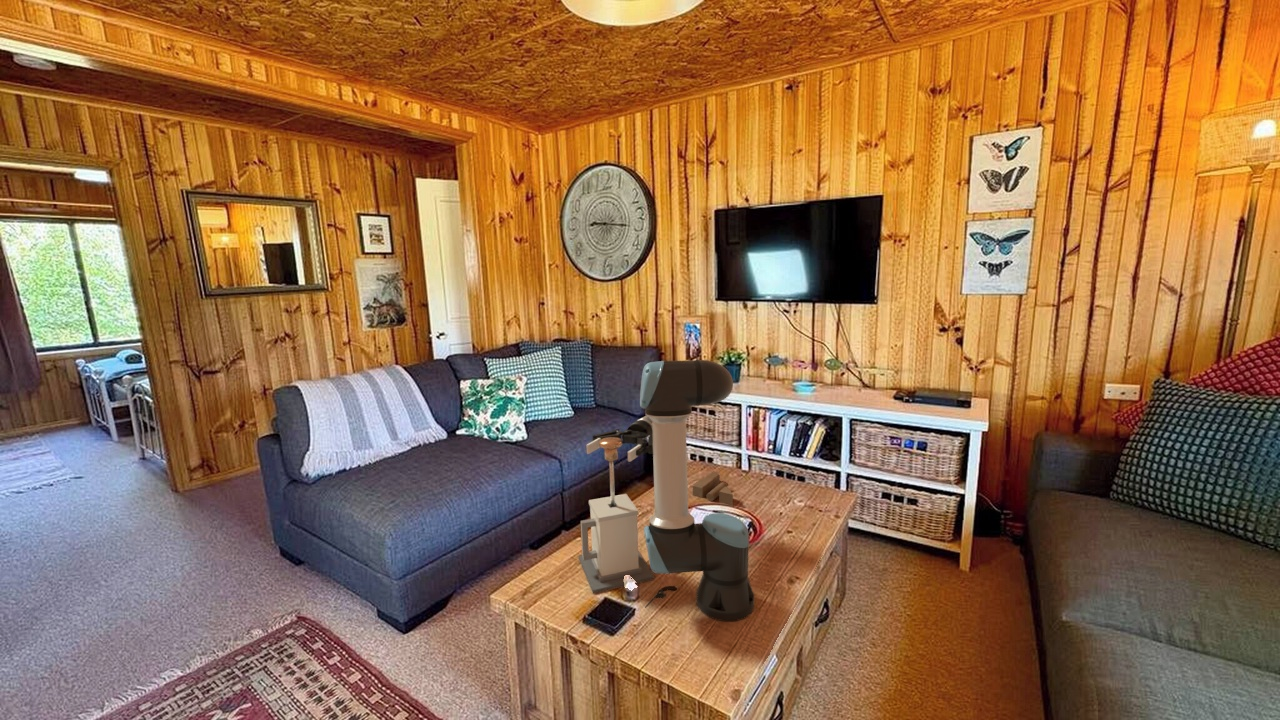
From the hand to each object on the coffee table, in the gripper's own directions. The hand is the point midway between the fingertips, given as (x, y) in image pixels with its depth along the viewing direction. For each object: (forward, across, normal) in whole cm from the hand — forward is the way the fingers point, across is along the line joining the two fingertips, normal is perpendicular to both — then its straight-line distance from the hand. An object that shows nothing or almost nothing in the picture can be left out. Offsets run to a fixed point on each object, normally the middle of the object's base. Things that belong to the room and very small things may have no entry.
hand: (607, 453), depth 143 cm
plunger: (-1, 0, -19) cm, 20 cm away
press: (0, +1, -36) cm, 36 cm away
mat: (-1, 0, -36) cm, 37 cm away
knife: (+6, -18, -37) cm, 42 cm away
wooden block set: (-63, -11, -37) cm, 74 cm away
